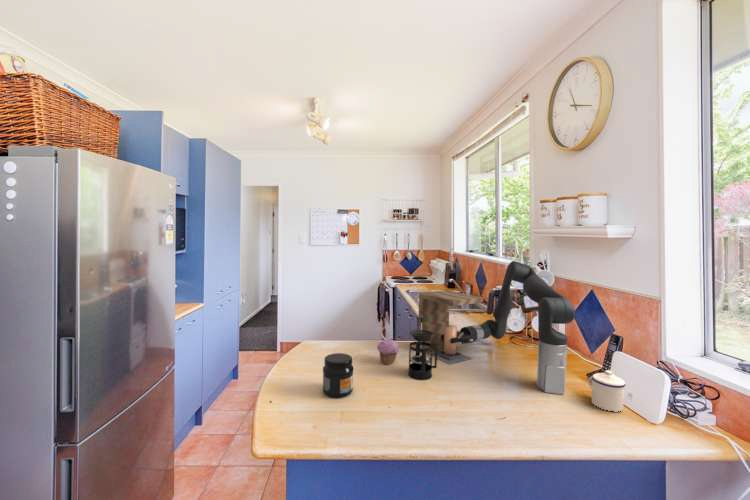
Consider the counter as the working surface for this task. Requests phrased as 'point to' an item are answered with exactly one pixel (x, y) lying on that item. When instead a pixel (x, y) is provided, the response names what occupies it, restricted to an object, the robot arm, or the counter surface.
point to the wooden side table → (440, 312)
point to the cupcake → (387, 351)
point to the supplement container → (338, 375)
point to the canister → (449, 333)
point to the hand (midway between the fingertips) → (446, 339)
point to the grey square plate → (450, 357)
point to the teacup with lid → (607, 391)
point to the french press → (421, 362)
